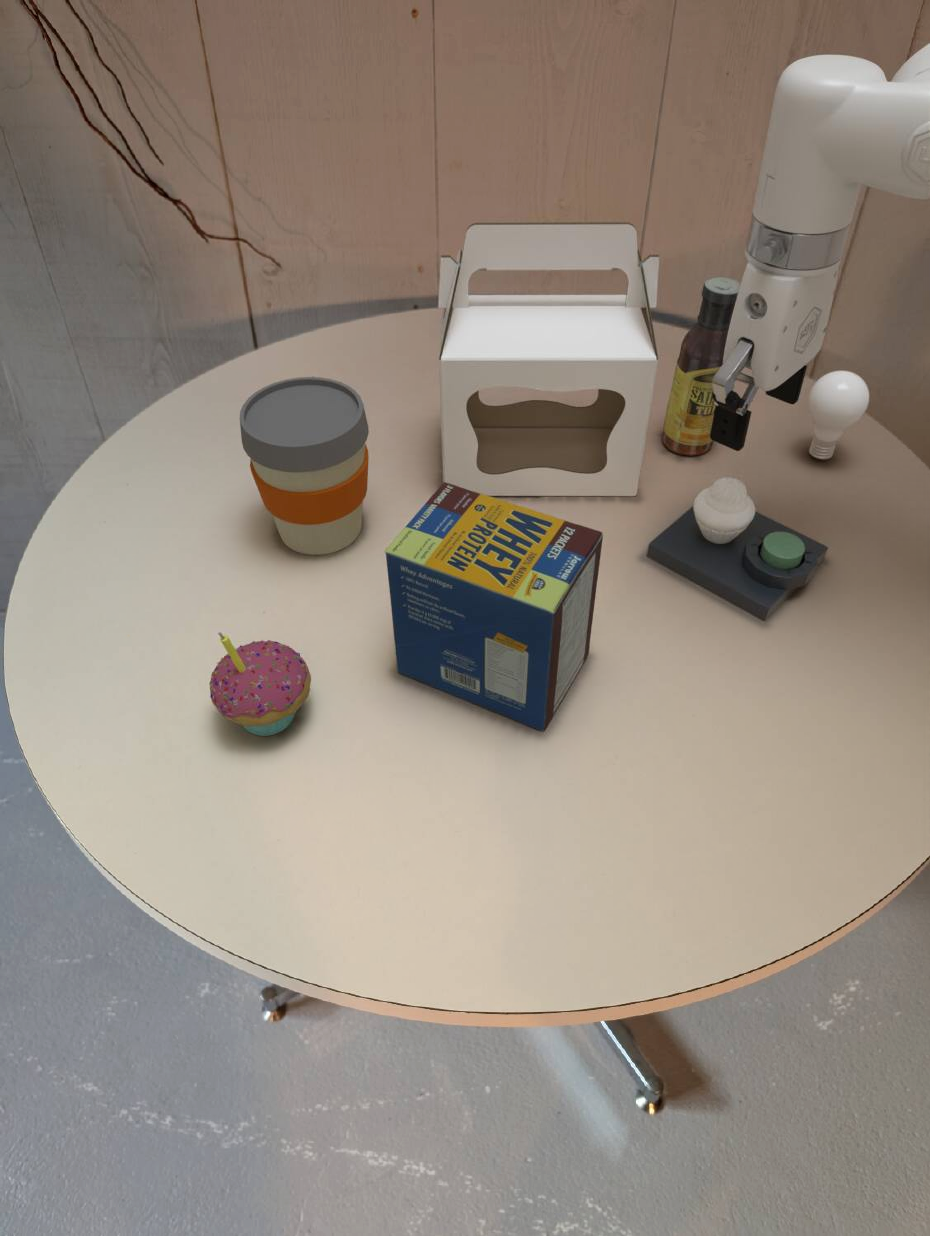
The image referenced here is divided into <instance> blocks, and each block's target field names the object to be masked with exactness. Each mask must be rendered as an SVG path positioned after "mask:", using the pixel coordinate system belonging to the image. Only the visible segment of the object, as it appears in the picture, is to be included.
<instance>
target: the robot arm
mask: <svg viewBox="0 0 930 1236" xmlns="http://www.w3.org/2000/svg"><path fill="white" fill-rule="evenodd" d="M759 169H760V170H759V177H758V181H757V186H756V191H755V195H754V200H753V201H754V202H753V206H752V212H751V217H750V222H749V228H748V233H747V237H746V243H745V248H744V257H745V259H746V260H747V261H748V262H747V264H746V266H745V270H744V272H743V275H742V279H741V281H740V284H741V285H740V288H739V292H738V295H737V299H736V303H735V306H734V310H733V314H732V318H731V322H730V326H729V331H728V335H727V340H726V345H725V351H724V357H723V365H722V366H721V368H720V369H719V370H718V372H717V373H716V374H715V376H714V378H713V380H712V386H713V399H714V405H716V406H715V412H714V417H713V422H712V427H711V432H710V438H711V440H713V442H715V443H717V444H720V445H722V446H724V447H727V448H728V449H731V450H734V451H736V452H740V451H741V450H742V449H743V448H744V447H745V442H746V439H747V434H748V429H749V426H750V421H751V418H752V411H751V410H749V408H750V407H751V404H752V402H753V400H754V398H755V396H756V394H757V392H758V391H759V389H761V390H762V391H765V394H766V395H767V396H769V397H772V398H773V399H776V400H779V401H780V402H781V401H782V402H784V403H787V404H789V405H796V403H798V402H799V398H800V395H801V391H802V388H803V384H804V380H805V376H806V373H807V369H808V365H807V364H808V363H809V362H811V361H812V360H813V359H814V358H815V357H816V356H817V355H818V353H820V351H821V349H822V347H823V344H824V342H825V341H824V340H825V337H826V332H827V328H828V325H829V324H828V323H829V320H830V314H831V310H832V305H833V301H834V296H835V291H836V286H837V281H838V275H839V269H840V268H839V267H840V265H841V263H842V260H843V259H842V258H843V254H844V250H845V246H846V243H847V241H848V240H847V239H848V236H849V233H850V229H851V226H852V225H851V224H852V221H853V218H854V214H855V210H856V206H857V203H858V199H859V195H860V192H861V188H862V186H865V187H869V188H873V189H876V190H879V191H883V192H885V193H890V194H893V195H897V196H901V197H905V198H910V199H916V200H930V42H928V44H925V46H923V47H922V48H920V49H919V50H917V51H916V52H915V53H914V54H912V56H911V57H909V58H908V59H907V60H905V62H904V63H903V64H902V65H901V66H900V68H898V70H897V72H896V73H895V74H894V75H893V77H892V78H891V81H888V80H887V77H886V75H885V72H884V71H883V69H882V68H881V67H880V66H879V65H878V64H876V63H875V62H872V61H870V60H867V59H865V58H862V57H858V56H853V55H845V54H816V55H810V56H807V57H803V58H800V59H797V60H795V61H794V62H792V63H790V64H789V65H788V66H787V67H786V68H785V69H784V70H783V72H782V73H781V75H780V77H779V79H778V81H777V84H776V87H775V92H774V97H773V101H772V107H771V112H770V117H769V123H768V128H767V133H766V138H765V143H764V149H763V154H762V159H761V164H760V168H759ZM744 368H746V369H748V370H751V374H752V375H751V376H750V375H749V374H747V373H746V374H745V373H743V372H742V371H743V370H744ZM736 381H737V382H739V383H741V384H744V385H747V387H746V389H745V390H744V393H743V395H742V396H740V394H739V393H738V392H736V391H734V388H735V382H736Z"/></svg>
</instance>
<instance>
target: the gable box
mask: <svg viewBox="0 0 930 1236" xmlns="http://www.w3.org/2000/svg"><path fill="white" fill-rule="evenodd" d="M659 266H660V255H659V254H649V255H647V256H646V257H645V258H644V259H643V260H642V255H641V251H640V249H638V235H637V229H636V227H635V226H634V224H632V223H631V222H628V221H620V222H619V221H611V222H609V221H608V222H607V221H605V222H604V221H603V222H602V221H601V222H599V221H598V222H596V221H593V222H592V221H590V222H589V221H588V222H585V221H583V222H574V221H573V222H572V221H571V222H568V221H567V222H565V221H564V222H562V221H561V222H559V221H558V222H555V221H554V222H473V223H471V224H470V225H469V226H468V227H467V228H466V231H465V235H464V242H463V249H459V250H458V252H457V255H456V258H455V259H454V258H453V257H452V256H451V255H447V254H441V255H440V267H439V287H438V300H437V301H438V303H437V308H438V309H442V310H441V311H442V312H441V323H440V324H441V325H440V336H439V350H438V351H439V352H438V353H439V354H438V375H439V377H438V378H439V402H440V403H439V405H440V429H441V430H440V431H441V456H442V484H443V483H444V482H446V483H449V484H452V485H455V486H458V487H461V488H464V489H467V490H470V491H473V492H477V493H480V494H484V495H487V496H490V497H635V496H637V495H638V489H639V483H640V476H641V471H642V470H641V469H642V464H643V457H644V453H645V445H646V438H647V434H648V433H647V432H648V427H649V421H650V413H651V407H652V402H653V395H654V388H655V382H656V377H657V371H658V364H659V355H658V348H657V343H656V336H655V331H654V330H655V329H654V324H653V318H652V313H651V308H652V309H655V308H657V301H658V300H657V298H658V284H659V283H658V281H659ZM620 270H621V271H622V272H624V274H625V275H626V278H627V284H626V285H627V287H626V294H469V281H470V278H471V276H472V275H473V274H474V273H475V272H476V271H481V272H487V271H611V272H617V271H620ZM502 387H514V388H523V389H528V390H529V389H530V390H537V391H543V392H552V393H553V392H554V393H568V392H578V391H586V390H598V391H597V397H596V400H595V401H594V402H593V403H591V404H589V405H586V406H573V405H569V404H566V403H562V402H559V401H554V400H547V399H546V400H545V399H530V400H524V401H519V402H518V401H517V402H513V403H509V404H502V405H489V404H485V403H483V402H482V401H481V398H480V395H479V394H480V393H479V392H480V391H481V390H484V389H488V388H502Z"/></svg>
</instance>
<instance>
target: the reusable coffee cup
mask: <svg viewBox="0 0 930 1236" xmlns="http://www.w3.org/2000/svg"><path fill="white" fill-rule="evenodd" d="M239 425H240V426H239V428H240V437H241V438H240V439H241V445H242V448H243V451H244V452H245V453H246V456H247V457H249V458H250V460H249V468H250V472H251V475H252V478H253V480H254V482H255V485H256V487H257V490H258V492H259V495H260V498H261V501H262V503H263V505H264V508H265V509H266V510H267V512H268V513H270V514H271V515H272V518H273V520H274V523H275V526H276V529H277V531H278V534H279V536H280V539H281V540H282V542H283V544H284V545H285V546H287V548H289V549H291V550H292V551H294V552H297V553H300V554H303V555H309V556H310V555H311V556H321V555H329V554H333V553H335V552H338V551H341V550H344V549H345V548H347V547H348V546H350V545H352V544H353V543H354V542H355V541H356V539H358V537H359V535H360V533H361V531H362V528H363V527H362V525H363V506H364V505H363V504H364V503H363V502H364V500H365V498H366V496H367V492H368V479H369V478H368V477H369V459H370V458H369V448H368V447H367V444H366V442H367V440H368V436H369V434H370V433H369V423H368V419H367V415H366V411H365V405H364V402H363V400H362V397H361V395H360V394H359V393H358V392H357V391H356V390H355V389H354V388H352V387H351V386H349V385H348V384H346V383H344V382H341V381H339V380H336V379H332V378H328V377H327V378H326V377H321V376H320V377H319V376H318V377H317V376H302V377H293V378H286V379H283V380H279V381H276V382H273V383H270V384H268V385H266V386H264V387H261V388H260V389H258V390H257V391H255V392H254V393H252V394H251V395H250V396H249V397H248V398H247V399H246V401H245V402H244V403H243V404H242V407H241V409H240V411H239Z"/></svg>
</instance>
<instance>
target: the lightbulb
mask: <svg viewBox="0 0 930 1236" xmlns="http://www.w3.org/2000/svg"><path fill="white" fill-rule="evenodd" d="M869 404H870V391H869V387H868V385H867V383H866V381H865V380H864V379H863V378H862V377H861V376H860V375H859V374H857V373H855V372H853V371H849V370H834V371H830V372H828V373H825V374H823V375H822V376H821V377H820V378H818V379H817V380H816V381H815V382H814V384H813V385H812V387H811V389H810V391H809V393H808V397H807V408H808V410H809V414H810V416H811V419H812V421H813V430H812V431H813V438H812V440H811V443H810V446H809V449H808V453H809V454H810V455H811V456H812V457H813V458H815V459H817V460H829V459H831V458H832V457H833V455H834V452H835V449H836V447H837V443H838V441H839V440H840V439H841V438H842V436H843V435H844V433H845V431H846V430H848V428H850V427H852V426H853V425H854V424H856V423H857V422H858V421H860V420H861V419H862V418H863V416H864V415H865V414H866V412H867V410H868V407H869Z"/></svg>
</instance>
